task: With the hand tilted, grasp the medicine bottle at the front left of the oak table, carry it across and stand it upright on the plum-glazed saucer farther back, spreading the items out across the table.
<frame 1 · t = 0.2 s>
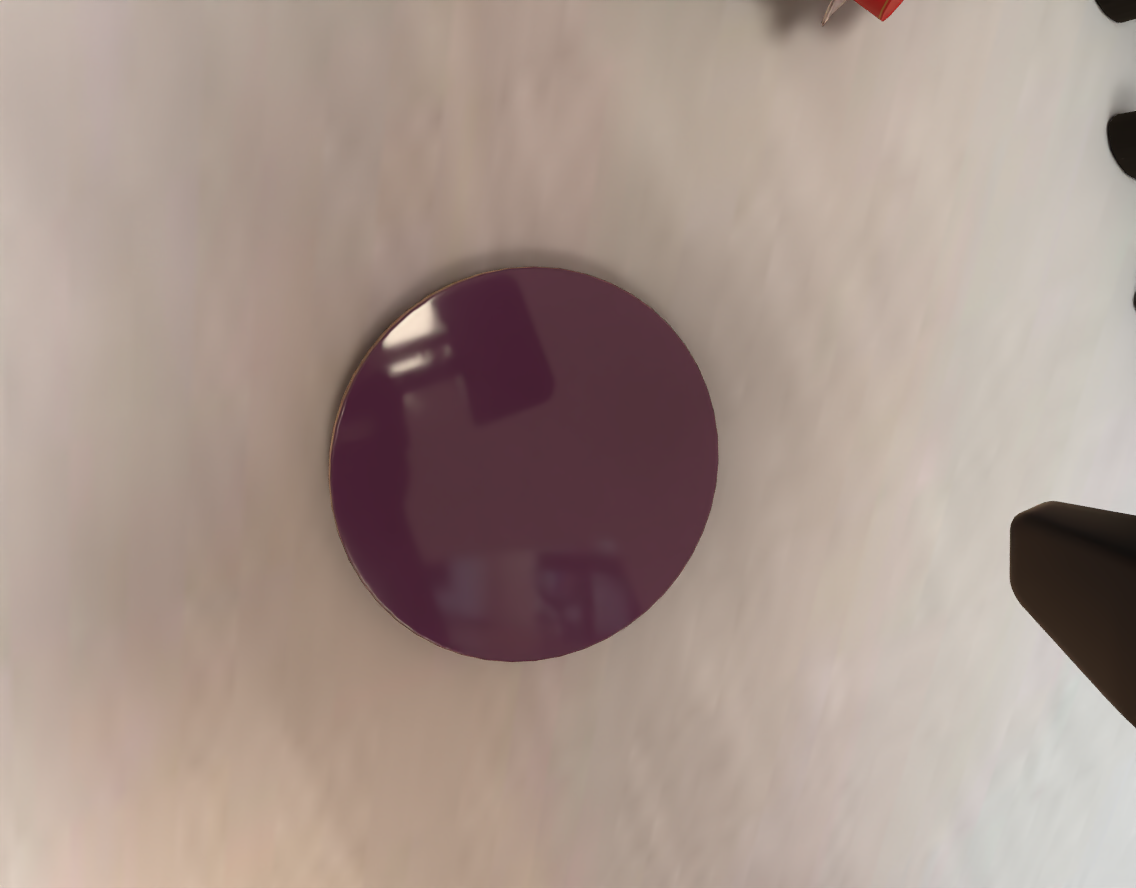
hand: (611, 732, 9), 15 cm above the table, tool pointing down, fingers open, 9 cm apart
saucer: (527, 464, 25), on the table
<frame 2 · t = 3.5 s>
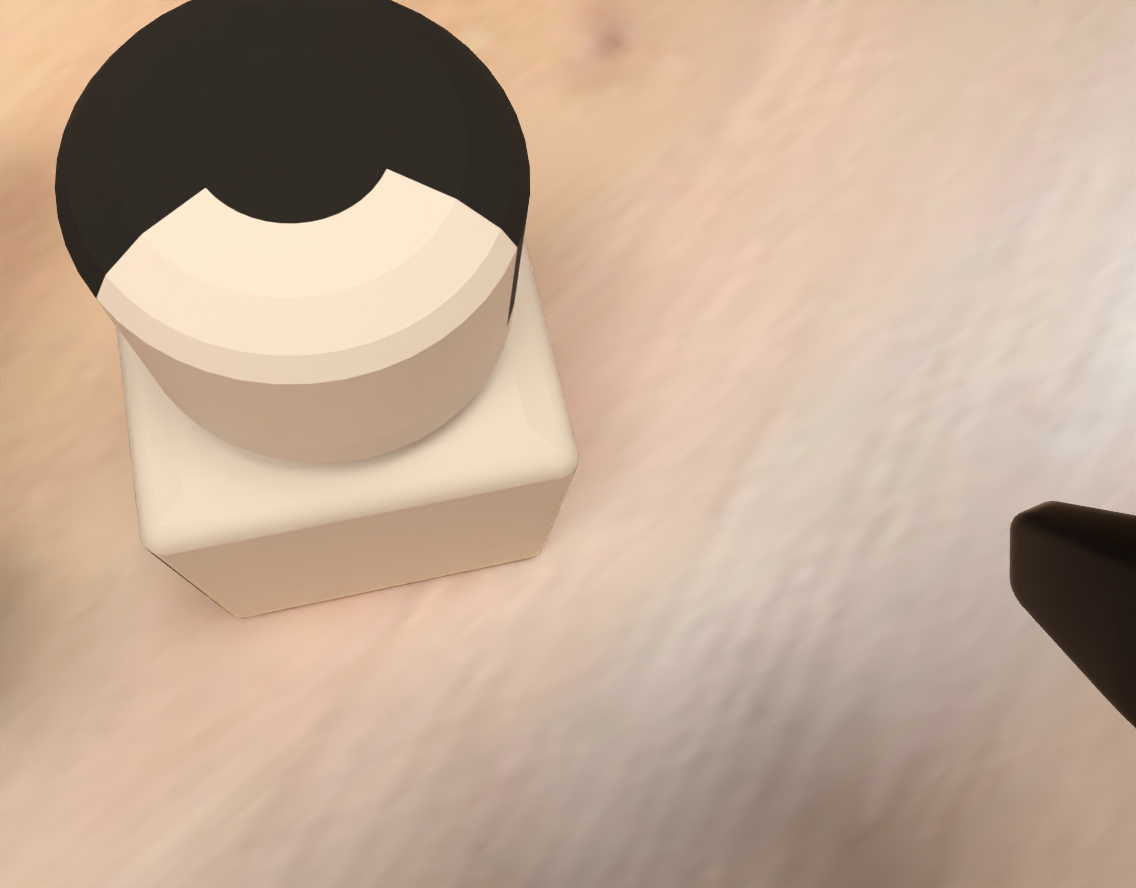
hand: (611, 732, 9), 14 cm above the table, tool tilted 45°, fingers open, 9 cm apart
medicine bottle: (366, 445, 24), on the table
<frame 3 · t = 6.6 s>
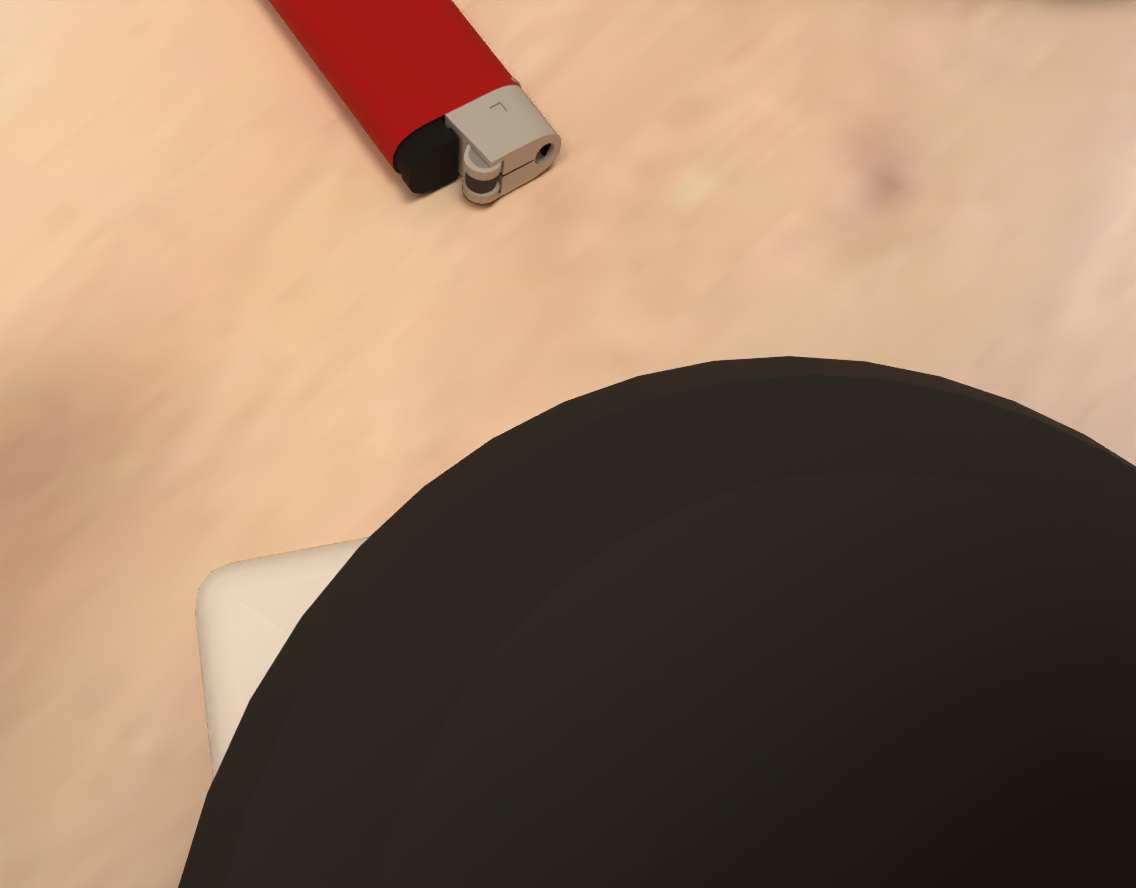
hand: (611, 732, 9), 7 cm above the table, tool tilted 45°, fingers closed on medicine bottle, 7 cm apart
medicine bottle: (572, 850, 15), on the table, touching gripper
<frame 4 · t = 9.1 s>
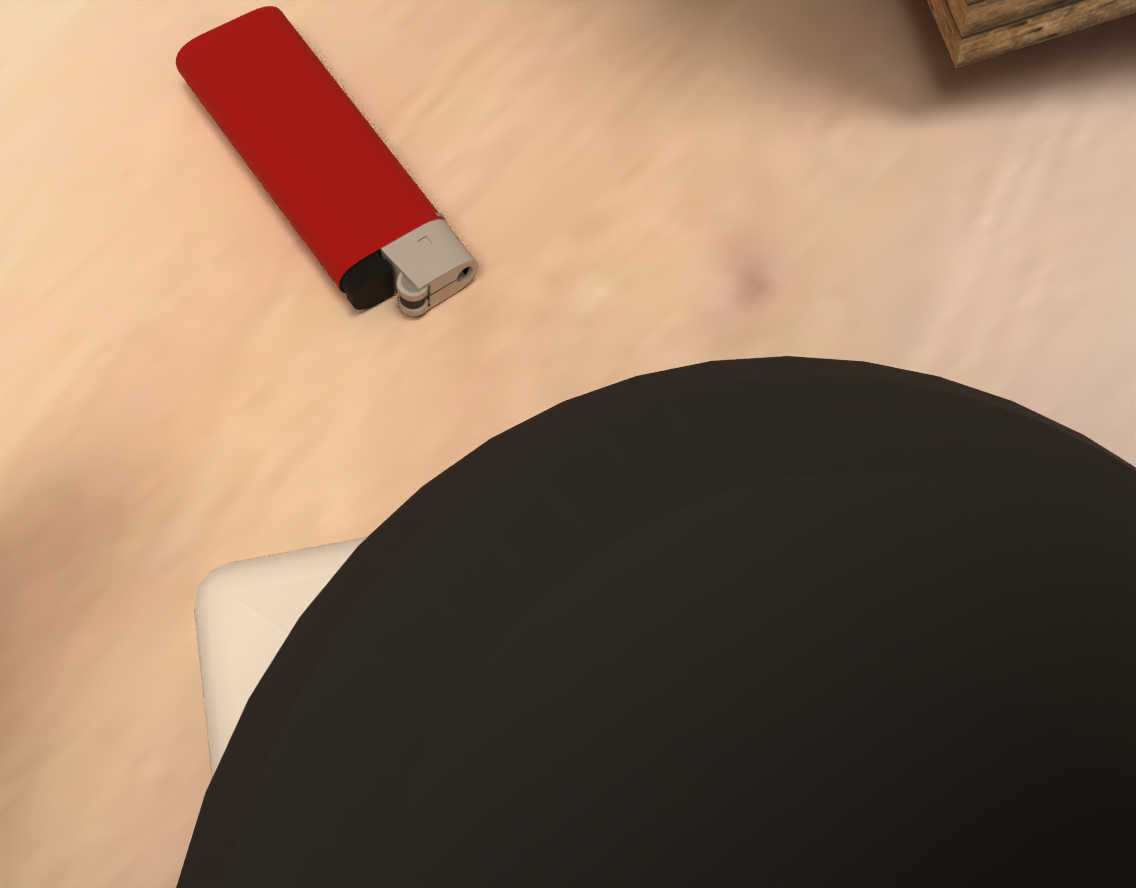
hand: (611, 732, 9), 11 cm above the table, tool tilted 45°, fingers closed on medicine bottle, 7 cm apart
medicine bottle: (572, 850, 15), point 4 cm above the table, touching gripper
lighter: (227, 36, 23), point 1 cm above the table
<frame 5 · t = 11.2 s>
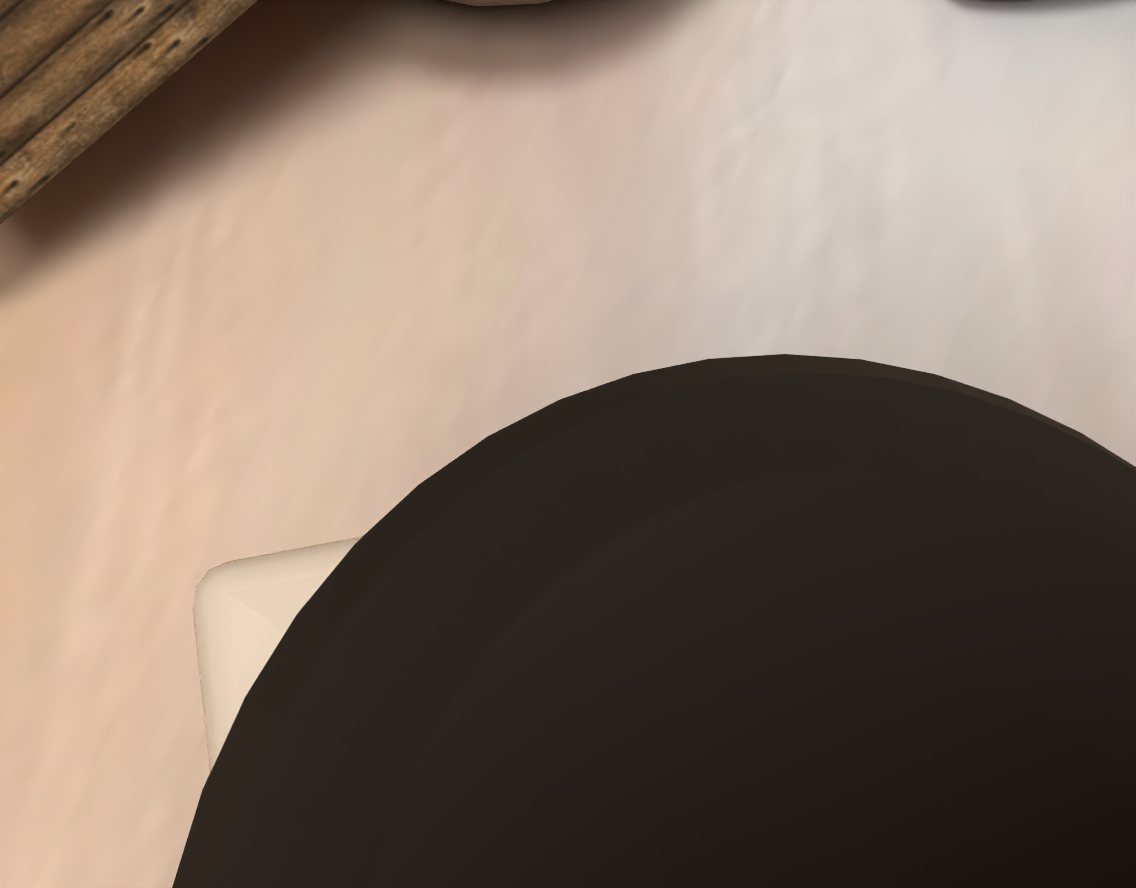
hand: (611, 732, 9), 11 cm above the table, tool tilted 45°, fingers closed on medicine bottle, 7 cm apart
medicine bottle: (571, 849, 15), point 4 cm above the table, touching gripper
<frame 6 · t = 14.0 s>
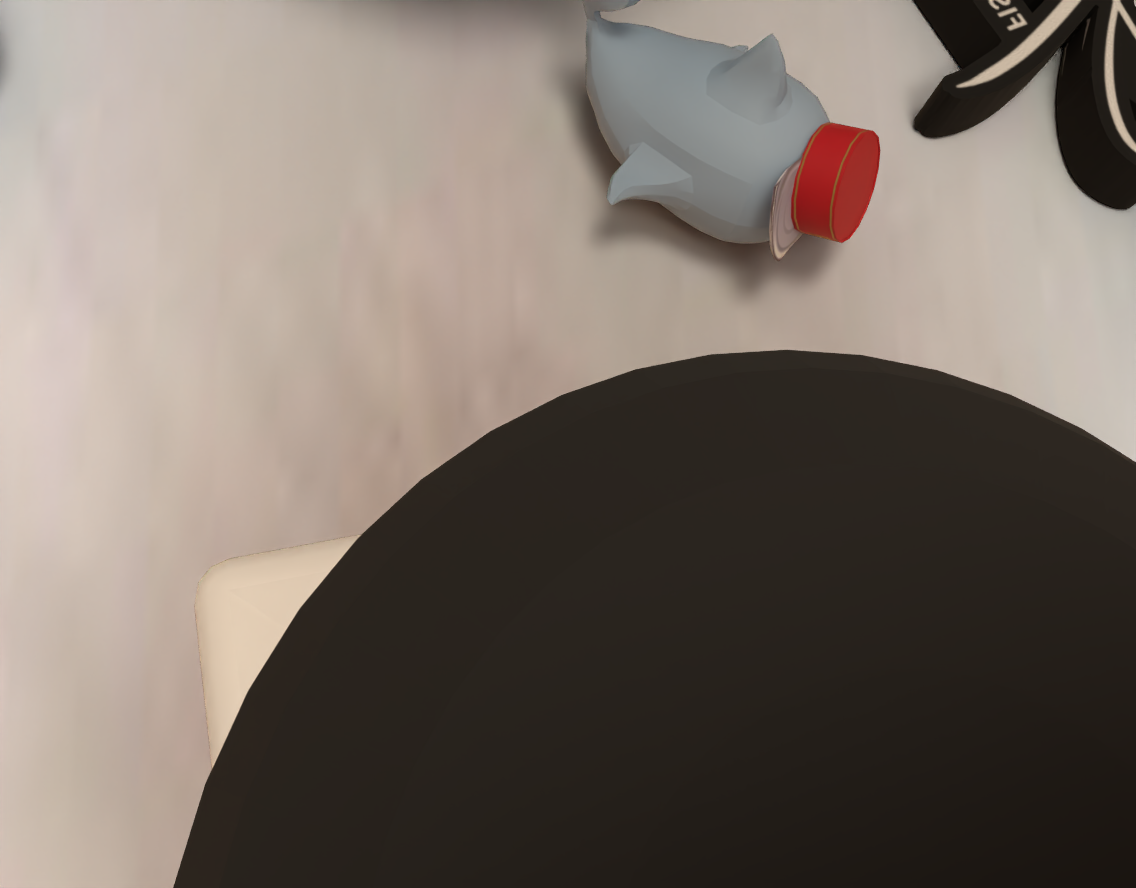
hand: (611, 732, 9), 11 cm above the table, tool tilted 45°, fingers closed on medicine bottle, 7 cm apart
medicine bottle: (572, 847, 15), point 4 cm above the table, touching gripper
figurine: (554, 16, 23), point 2 cm above the table
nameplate: (950, 154, 25), point 1 cm above the table, touching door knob
when the fingers open (8 cm above the table, at t = 16.0 s): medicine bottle stays where it is, resting on saucer.
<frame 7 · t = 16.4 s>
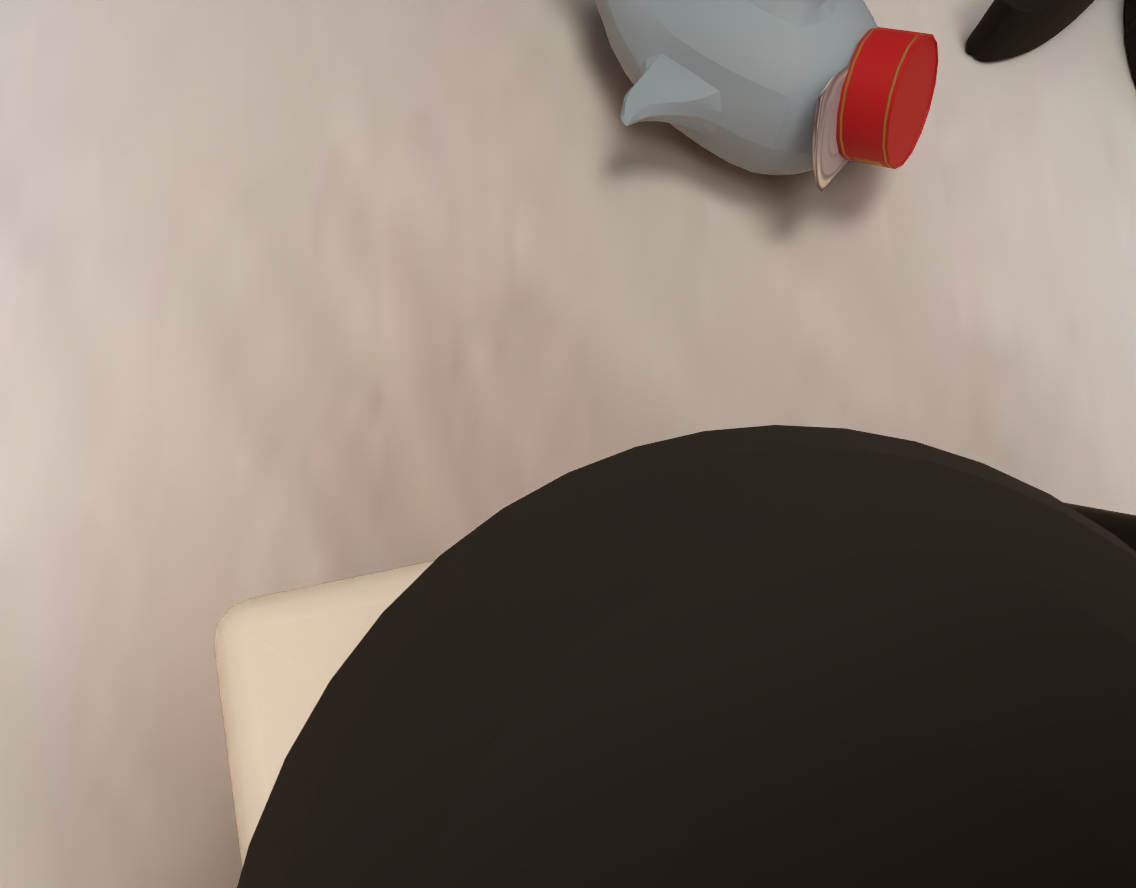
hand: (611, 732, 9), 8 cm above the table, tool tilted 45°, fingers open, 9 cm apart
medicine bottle: (575, 860, 16), point 1 cm above the table, touching saucer
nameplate: (1011, 76, 21), point 1 cm above the table, touching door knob
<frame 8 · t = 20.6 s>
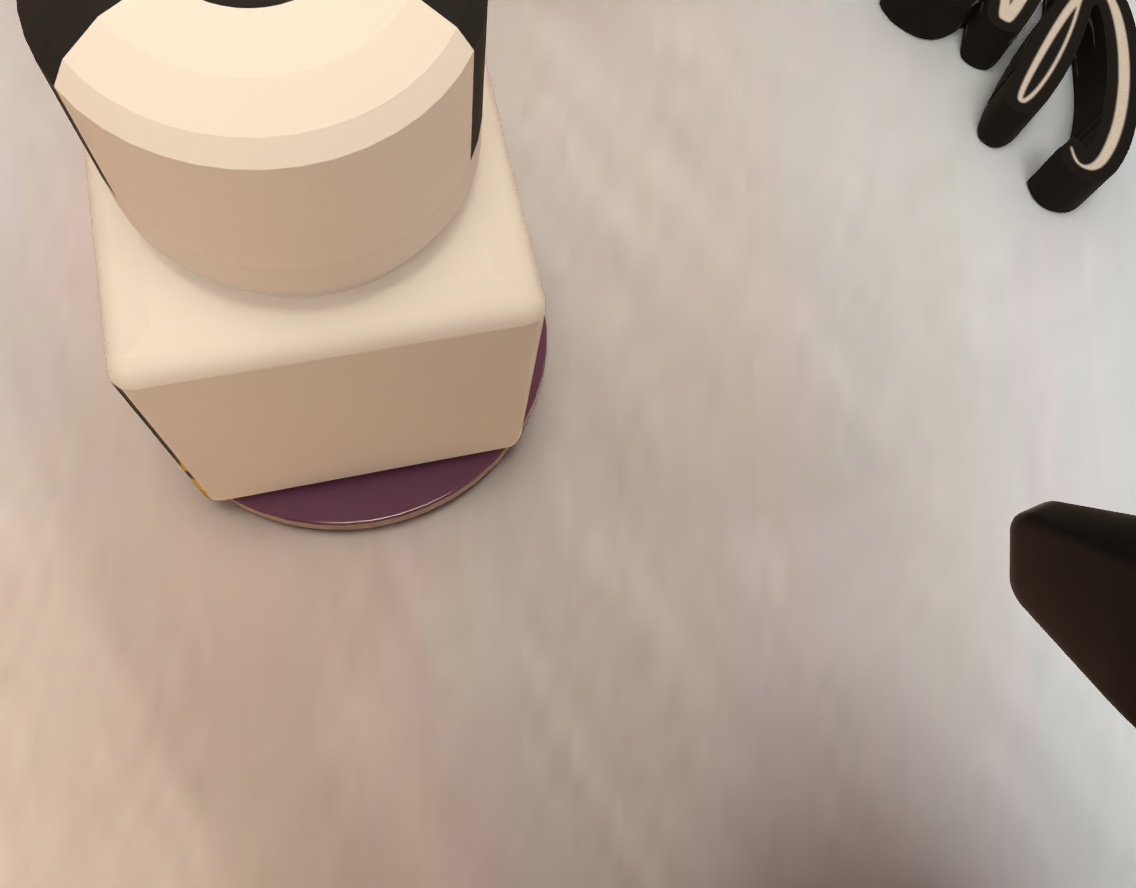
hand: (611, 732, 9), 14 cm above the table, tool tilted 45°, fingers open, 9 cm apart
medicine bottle: (344, 340, 24), point 1 cm above the table, touching saucer
saucer: (349, 343, 25), on the table
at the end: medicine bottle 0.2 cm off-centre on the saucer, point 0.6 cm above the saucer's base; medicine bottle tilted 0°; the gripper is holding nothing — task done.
